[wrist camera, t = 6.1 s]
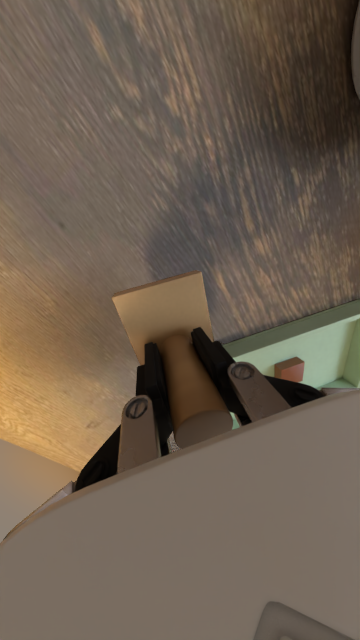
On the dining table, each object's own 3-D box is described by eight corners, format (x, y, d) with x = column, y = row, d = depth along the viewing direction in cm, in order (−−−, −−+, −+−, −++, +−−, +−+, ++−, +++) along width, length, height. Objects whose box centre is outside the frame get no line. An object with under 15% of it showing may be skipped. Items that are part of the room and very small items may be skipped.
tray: (361, 298, 25) (388, 304, 23) (341, 377, 32) (360, 389, 30) (204, 350, 23) (213, 364, 20) (220, 424, 30) (228, 442, 27)
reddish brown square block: (296, 356, 26) (305, 361, 25) (295, 374, 28) (302, 380, 27) (274, 364, 26) (281, 370, 25) (273, 382, 28) (280, 389, 26)
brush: (118, 287, 12) (68, 356, 4) (189, 267, 13) (269, 294, 5) (155, 381, 16) (167, 511, 8) (209, 363, 17) (271, 468, 9)
